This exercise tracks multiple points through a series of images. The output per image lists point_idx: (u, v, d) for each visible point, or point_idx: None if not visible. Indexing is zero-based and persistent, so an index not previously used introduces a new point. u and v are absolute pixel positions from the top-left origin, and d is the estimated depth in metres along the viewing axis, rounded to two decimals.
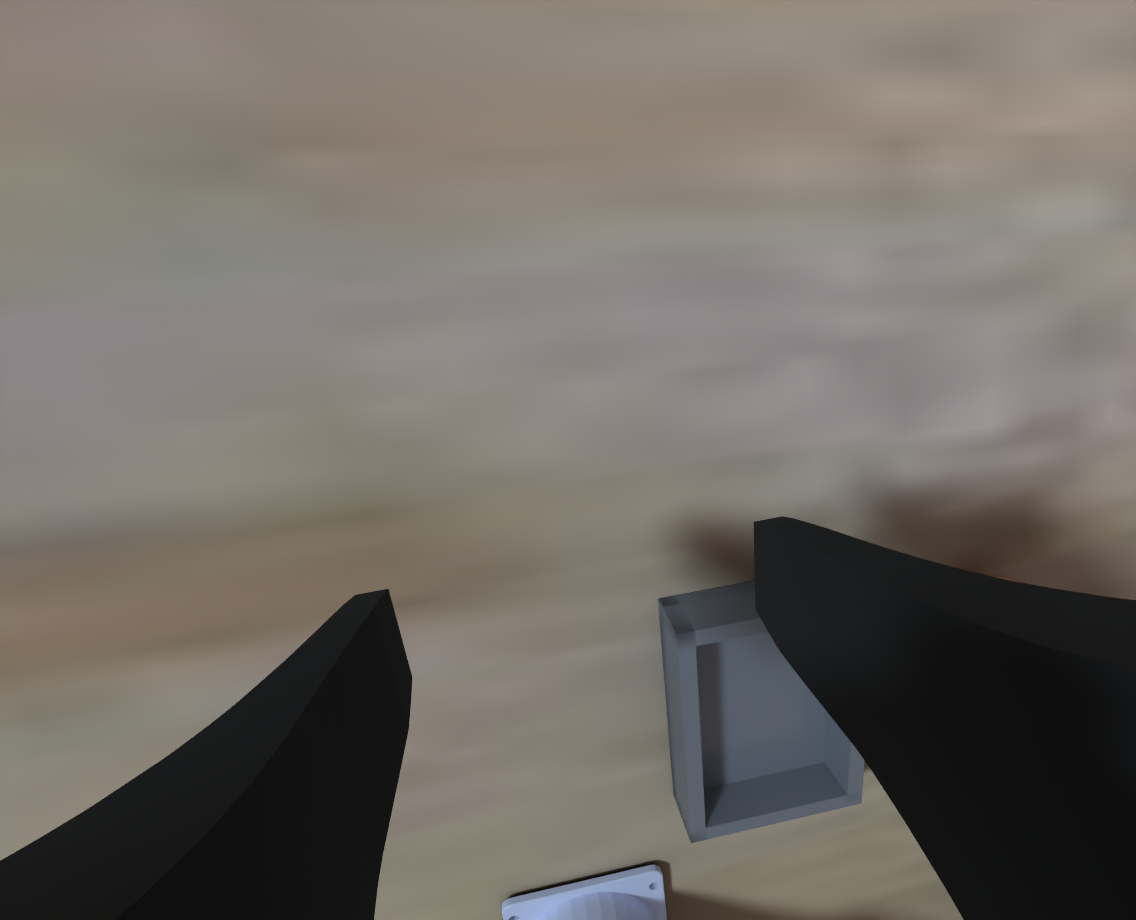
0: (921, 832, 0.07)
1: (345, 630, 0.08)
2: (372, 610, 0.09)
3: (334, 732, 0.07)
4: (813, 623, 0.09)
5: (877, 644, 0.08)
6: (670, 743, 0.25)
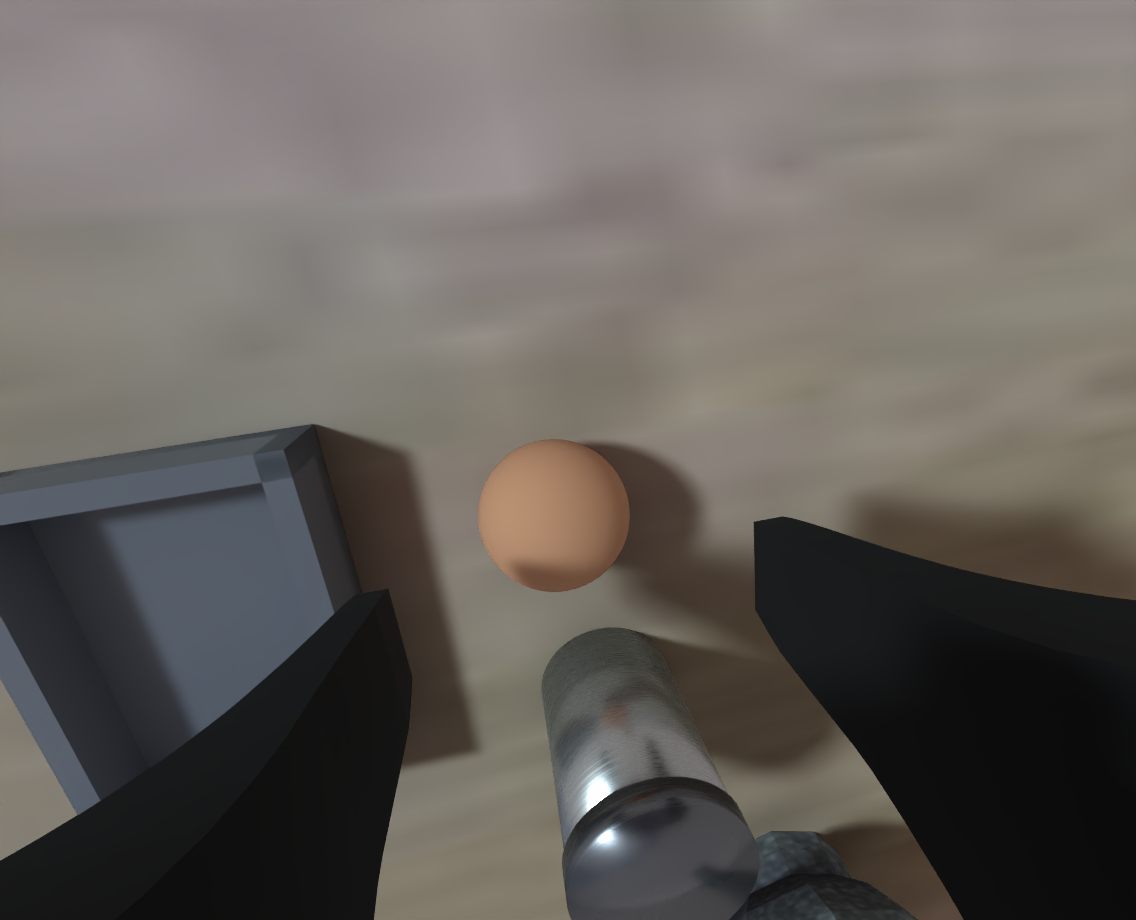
0: (921, 832, 0.07)
1: (345, 630, 0.08)
2: (372, 610, 0.09)
3: (334, 732, 0.07)
4: (814, 623, 0.09)
5: (877, 644, 0.08)
6: None
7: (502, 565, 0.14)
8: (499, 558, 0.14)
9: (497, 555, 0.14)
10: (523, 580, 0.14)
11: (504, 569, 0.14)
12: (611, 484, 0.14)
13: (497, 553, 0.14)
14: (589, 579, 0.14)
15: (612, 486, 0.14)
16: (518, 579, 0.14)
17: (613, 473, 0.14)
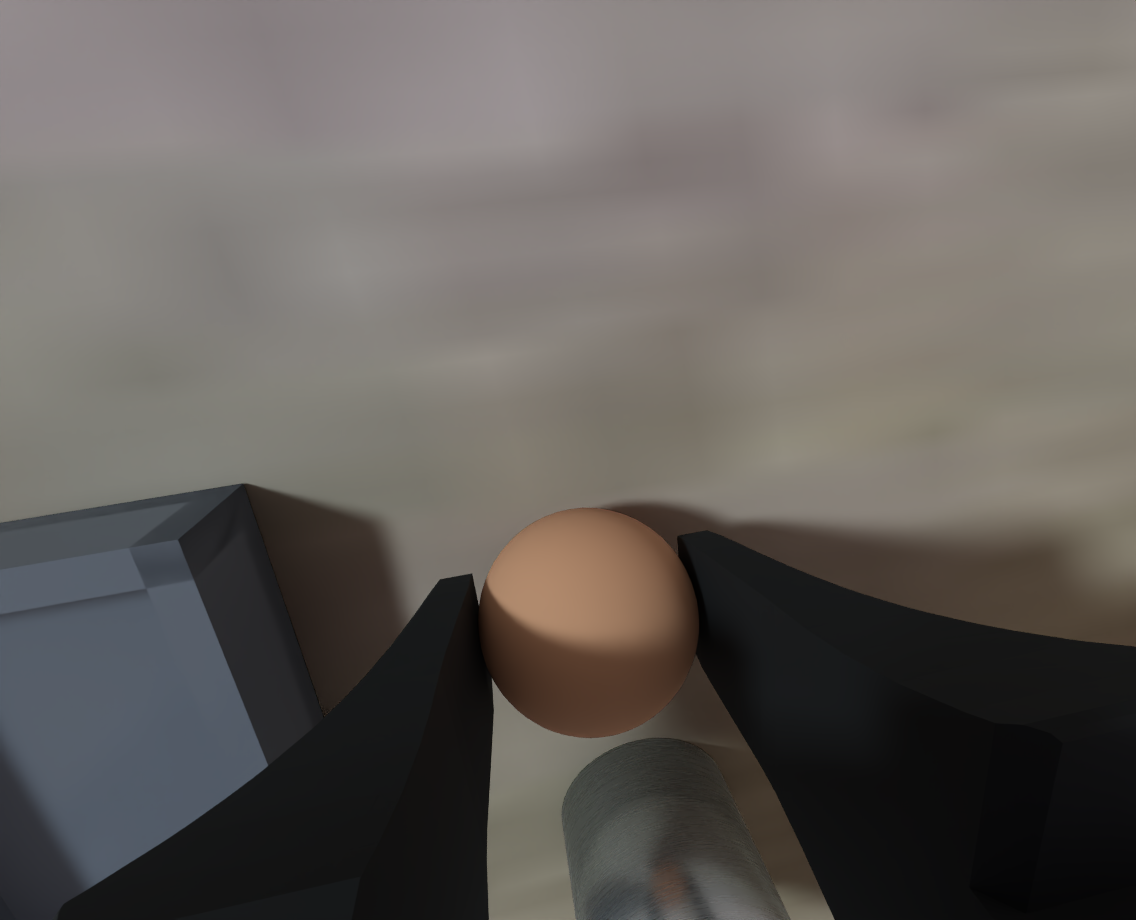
0: (813, 858, 0.07)
1: (447, 611, 0.09)
2: (466, 592, 0.09)
3: (454, 708, 0.07)
4: (725, 641, 0.09)
5: (772, 666, 0.08)
6: None
7: (514, 704, 0.09)
8: (510, 695, 0.09)
9: (506, 691, 0.09)
10: (546, 726, 0.09)
11: (517, 708, 0.09)
12: (677, 584, 0.09)
13: (506, 688, 0.09)
14: None
15: (678, 586, 0.09)
16: (537, 723, 0.09)
17: (677, 563, 0.10)
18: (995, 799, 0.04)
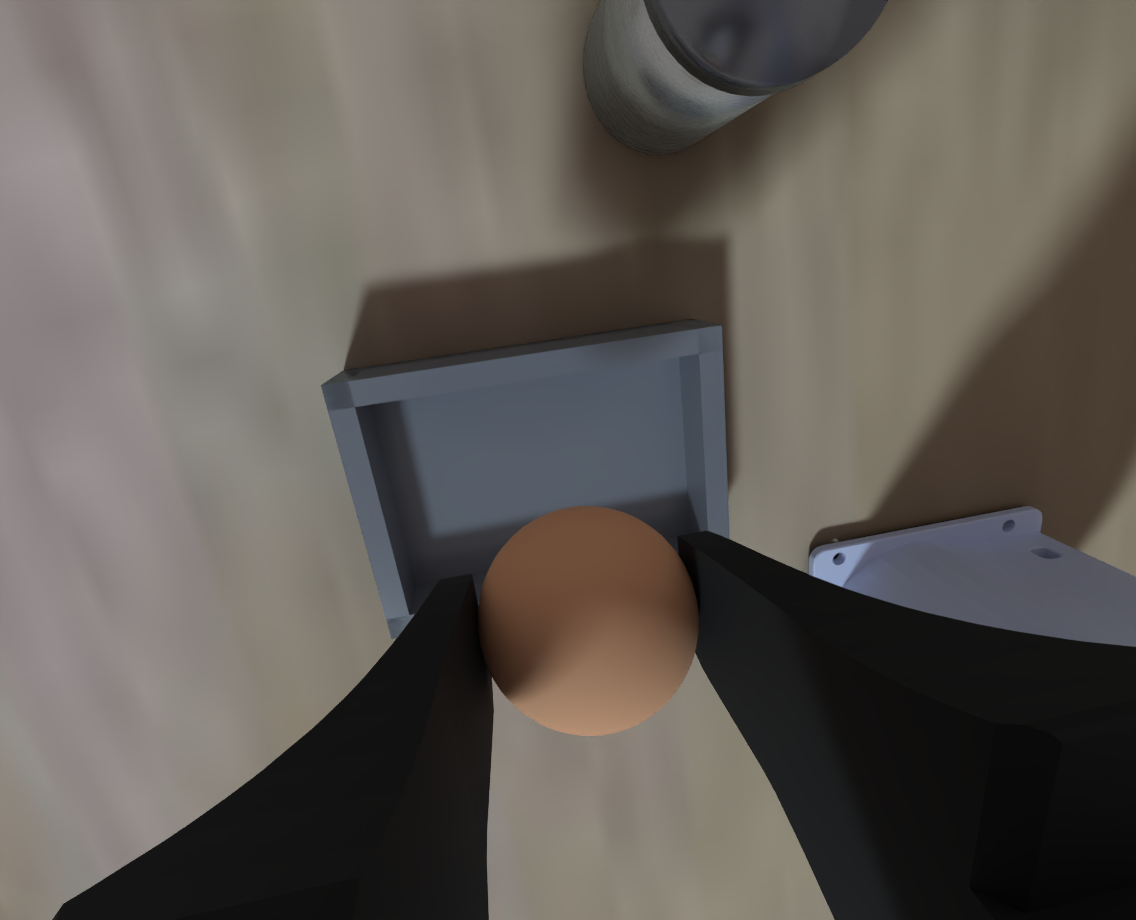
0: (813, 858, 0.07)
1: (447, 611, 0.09)
2: (466, 593, 0.09)
3: (454, 708, 0.07)
4: (725, 641, 0.09)
5: (772, 666, 0.08)
6: None
7: (512, 701, 0.09)
8: (508, 692, 0.09)
9: (505, 687, 0.09)
10: (544, 724, 0.09)
11: (515, 705, 0.09)
12: (678, 583, 0.09)
13: (504, 685, 0.09)
14: None
15: (678, 585, 0.09)
16: (536, 720, 0.09)
17: (677, 562, 0.10)
18: (997, 800, 0.04)
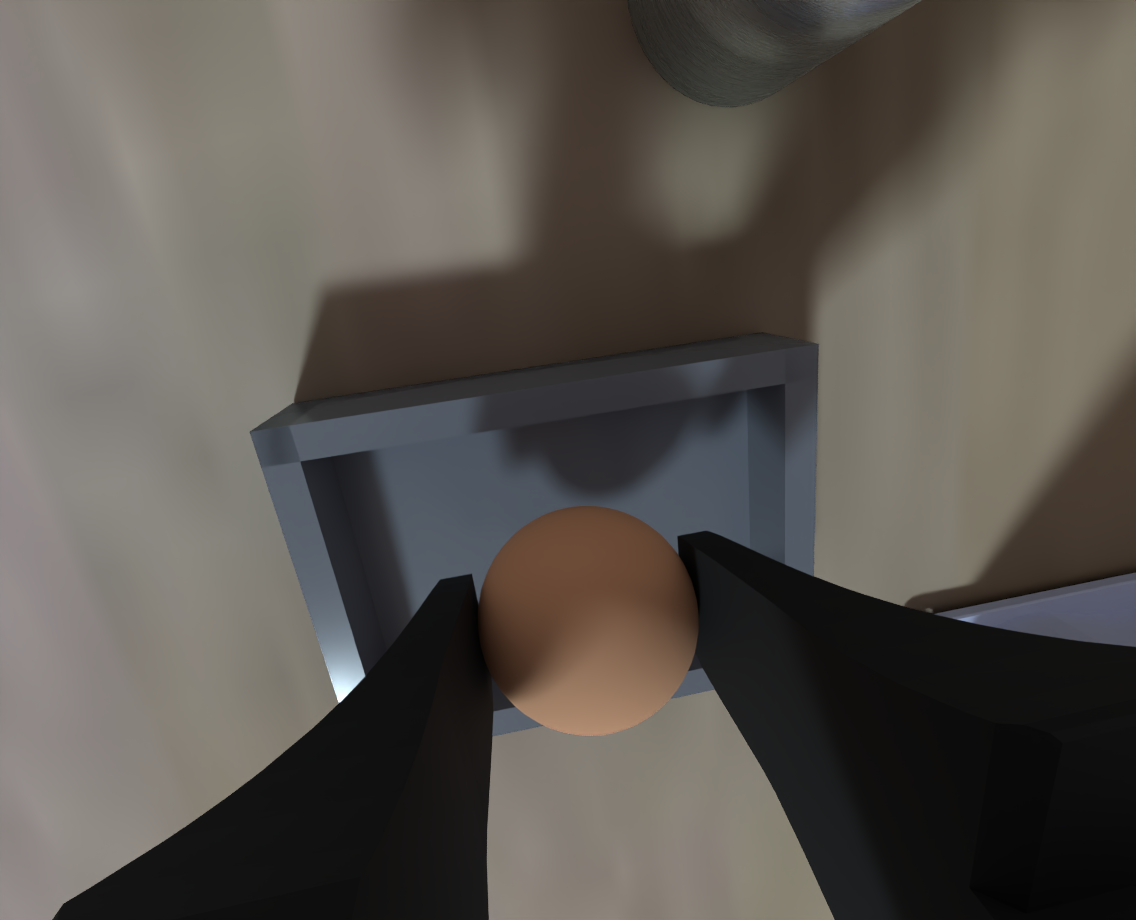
0: (814, 858, 0.07)
1: (447, 611, 0.09)
2: (466, 593, 0.09)
3: (453, 708, 0.07)
4: (725, 641, 0.09)
5: (772, 666, 0.08)
6: None
7: (512, 700, 0.09)
8: (508, 691, 0.09)
9: (505, 687, 0.09)
10: (544, 723, 0.09)
11: (515, 705, 0.09)
12: (677, 583, 0.09)
13: (504, 685, 0.09)
14: None
15: (678, 585, 0.09)
16: (535, 720, 0.09)
17: (677, 562, 0.10)
18: (997, 800, 0.04)
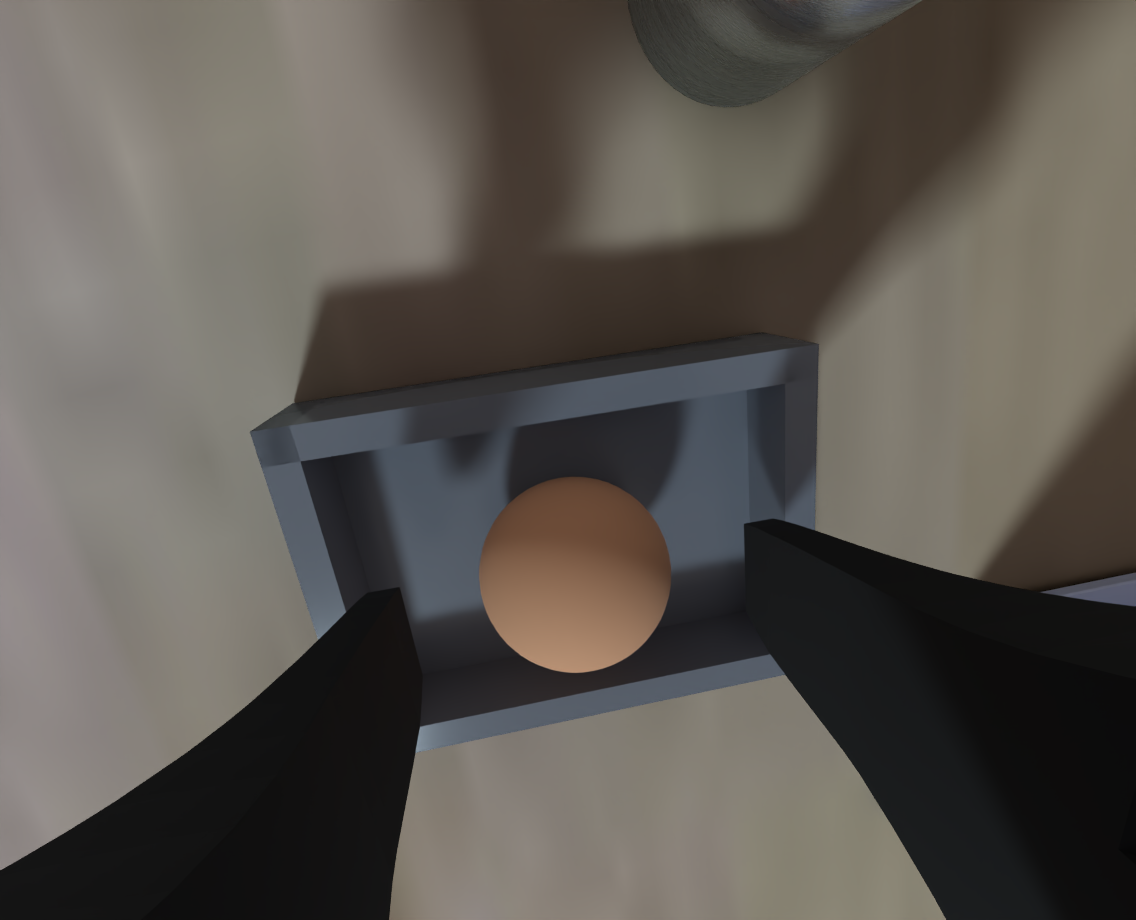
0: (907, 835, 0.07)
1: (359, 627, 0.08)
2: (385, 608, 0.09)
3: (350, 729, 0.07)
4: (801, 625, 0.09)
5: (863, 647, 0.08)
6: None
7: (509, 641, 0.11)
8: (506, 633, 0.11)
9: (503, 629, 0.11)
10: (537, 661, 0.11)
11: (512, 646, 0.11)
12: (652, 539, 0.11)
13: (503, 627, 0.11)
14: (621, 659, 0.11)
15: (652, 541, 0.11)
16: (530, 659, 0.11)
17: (652, 523, 0.11)
18: None
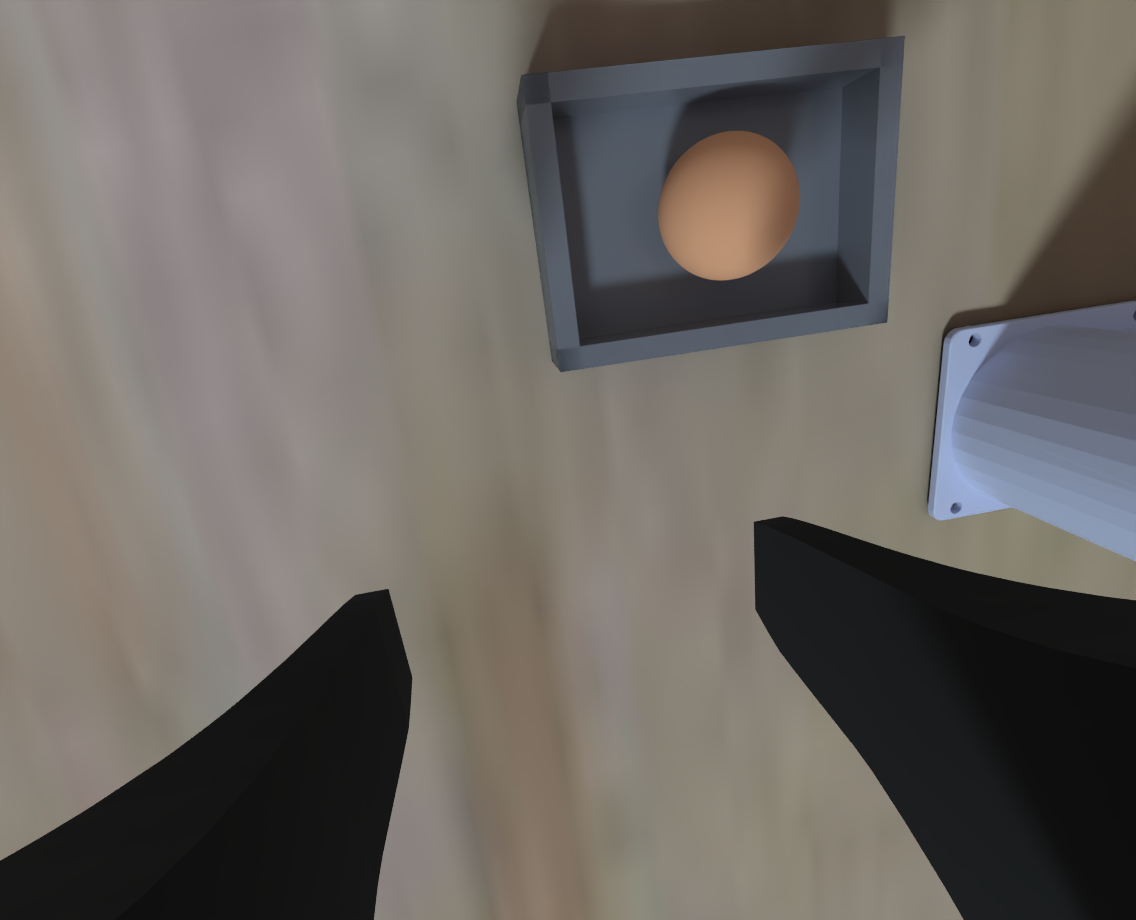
0: (921, 832, 0.07)
1: (345, 630, 0.08)
2: (372, 610, 0.09)
3: (334, 732, 0.07)
4: (814, 623, 0.09)
5: (877, 644, 0.08)
6: None
7: (690, 233, 0.15)
8: (690, 224, 0.15)
9: (687, 222, 0.15)
10: (710, 245, 0.15)
11: (691, 239, 0.15)
12: (790, 161, 0.15)
13: (687, 219, 0.15)
14: (767, 249, 0.15)
15: (790, 162, 0.15)
16: (704, 248, 0.15)
17: None
18: None
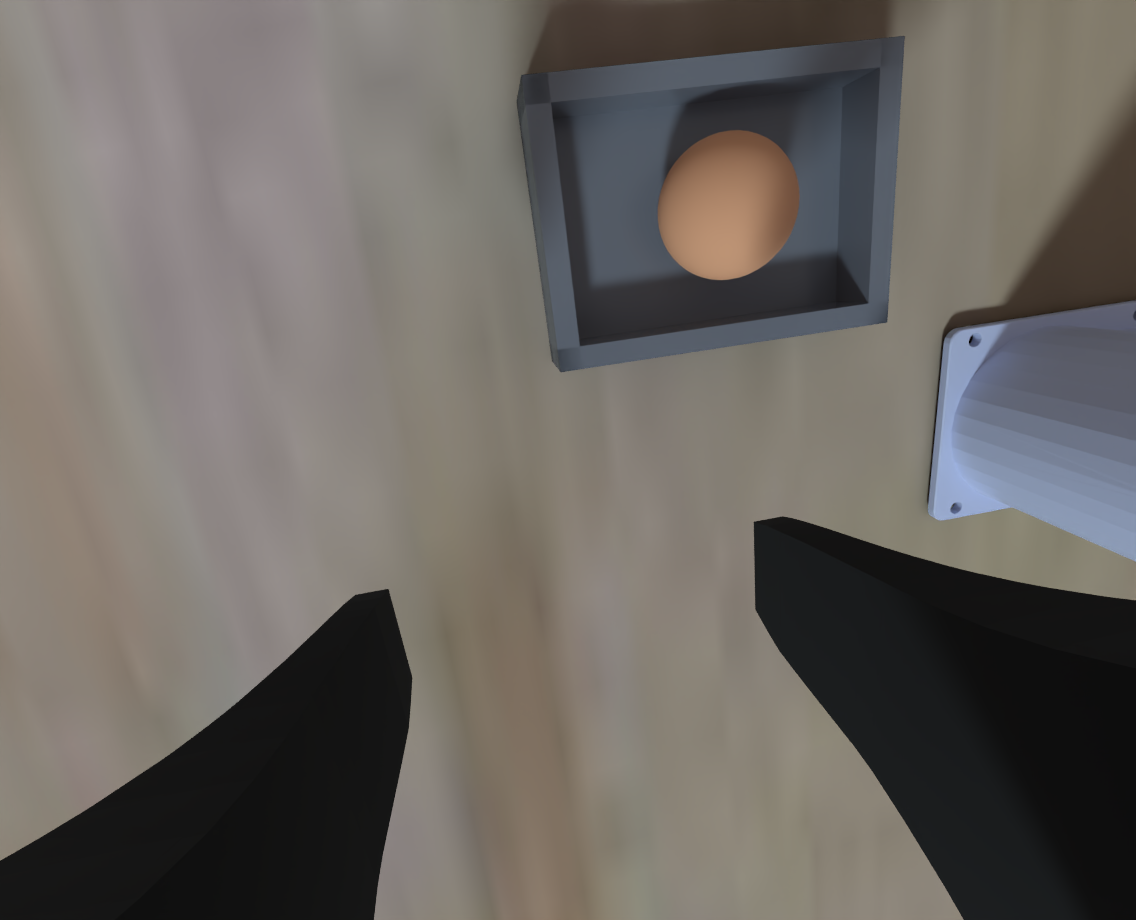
0: (921, 832, 0.07)
1: (345, 630, 0.08)
2: (372, 610, 0.09)
3: (334, 732, 0.07)
4: (814, 623, 0.09)
5: (877, 644, 0.08)
6: None
7: (690, 233, 0.15)
8: (689, 223, 0.15)
9: (687, 221, 0.15)
10: (709, 245, 0.15)
11: (690, 238, 0.15)
12: (789, 160, 0.15)
13: (687, 218, 0.15)
14: (766, 248, 0.15)
15: None
16: (703, 247, 0.15)
17: None
18: None
